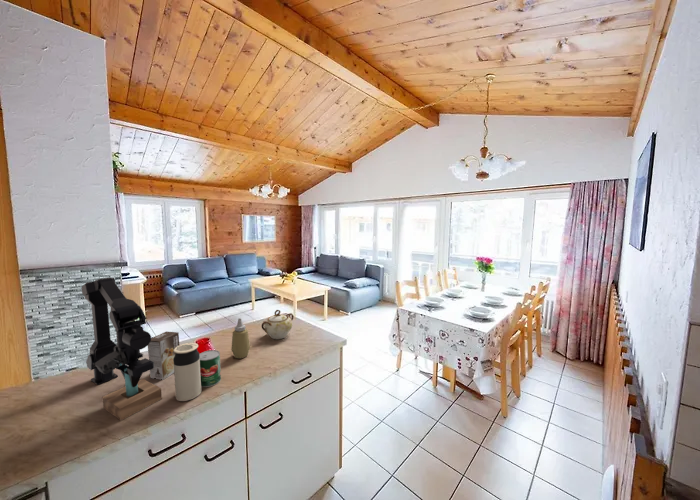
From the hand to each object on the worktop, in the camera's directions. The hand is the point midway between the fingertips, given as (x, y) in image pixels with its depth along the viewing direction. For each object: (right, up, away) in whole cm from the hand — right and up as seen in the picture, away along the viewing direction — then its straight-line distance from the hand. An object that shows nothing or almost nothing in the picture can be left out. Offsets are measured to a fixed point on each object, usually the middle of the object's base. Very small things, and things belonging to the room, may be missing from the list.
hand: (131, 385), depth 94 cm
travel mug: (+16, -6, +6) cm, 18 cm away
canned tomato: (+20, -6, +14) cm, 25 cm away
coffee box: (-1, -5, +19) cm, 20 cm away
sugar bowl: (+36, -1, +56) cm, 67 cm away
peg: (0, -3, 0) cm, 3 cm away
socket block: (0, -7, +1) cm, 7 cm away
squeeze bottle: (+24, -3, +34) cm, 42 cm away
